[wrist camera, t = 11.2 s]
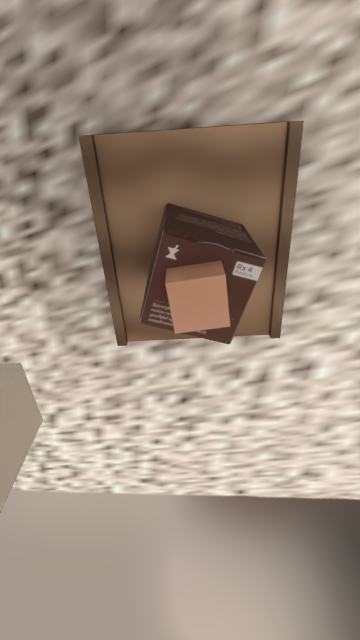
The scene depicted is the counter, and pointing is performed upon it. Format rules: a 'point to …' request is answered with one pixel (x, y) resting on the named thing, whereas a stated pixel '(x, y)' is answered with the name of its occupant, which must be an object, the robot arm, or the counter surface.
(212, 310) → the tan rounded cube
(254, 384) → the counter surface
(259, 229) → the dock
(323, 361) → the counter surface
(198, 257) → the box
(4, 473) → the robot arm
